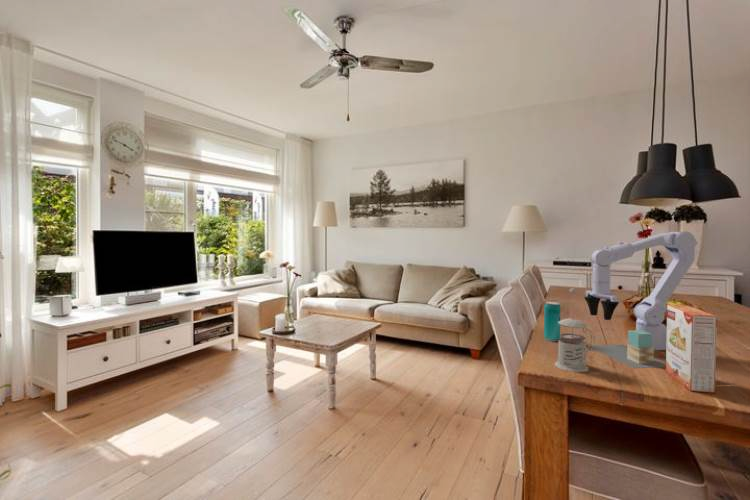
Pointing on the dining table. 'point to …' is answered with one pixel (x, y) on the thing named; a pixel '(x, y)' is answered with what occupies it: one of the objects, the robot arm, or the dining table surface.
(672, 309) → the cracker box
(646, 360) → the tower lower
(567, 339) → the french press
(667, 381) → the dining table surface
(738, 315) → the dining table surface
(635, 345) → the teal block
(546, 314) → the beverage can
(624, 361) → the slate mat
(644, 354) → the tower upper
